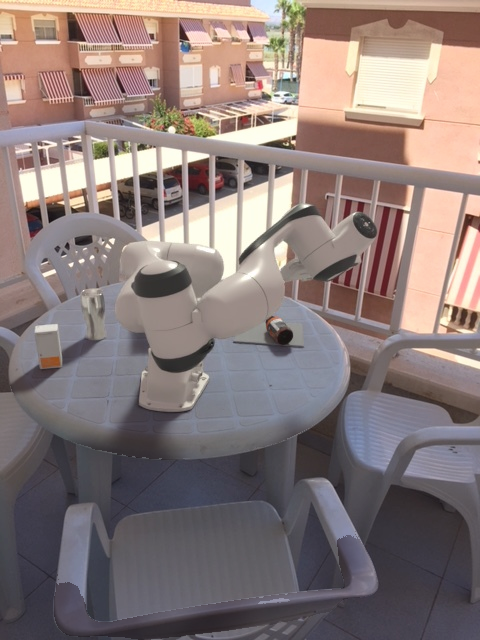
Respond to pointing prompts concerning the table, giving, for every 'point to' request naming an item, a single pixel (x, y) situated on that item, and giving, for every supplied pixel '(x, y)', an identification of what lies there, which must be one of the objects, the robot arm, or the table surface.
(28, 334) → the table surface
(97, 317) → the beer glass
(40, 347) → the skincare box
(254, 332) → the rubber mat
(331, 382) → the table surface
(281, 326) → the supplement bottle
